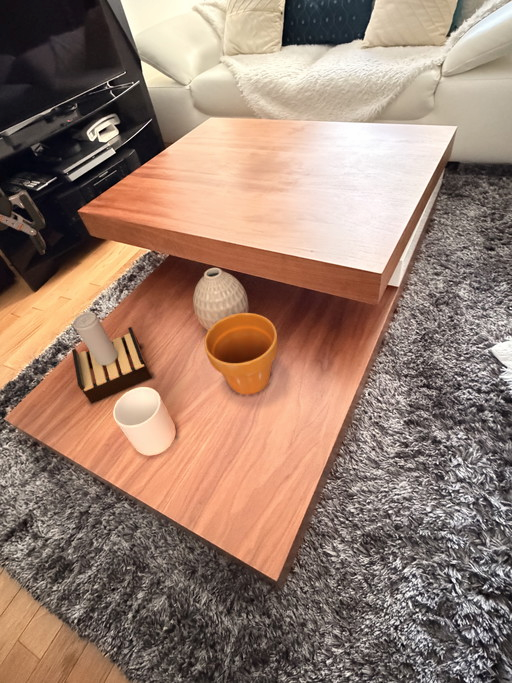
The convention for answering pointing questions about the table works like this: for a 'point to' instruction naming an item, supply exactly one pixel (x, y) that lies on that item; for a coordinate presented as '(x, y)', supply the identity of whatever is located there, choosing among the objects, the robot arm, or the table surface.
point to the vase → (218, 297)
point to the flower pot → (243, 350)
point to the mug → (145, 420)
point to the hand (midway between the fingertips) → (18, 260)
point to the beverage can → (95, 338)
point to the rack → (111, 369)
